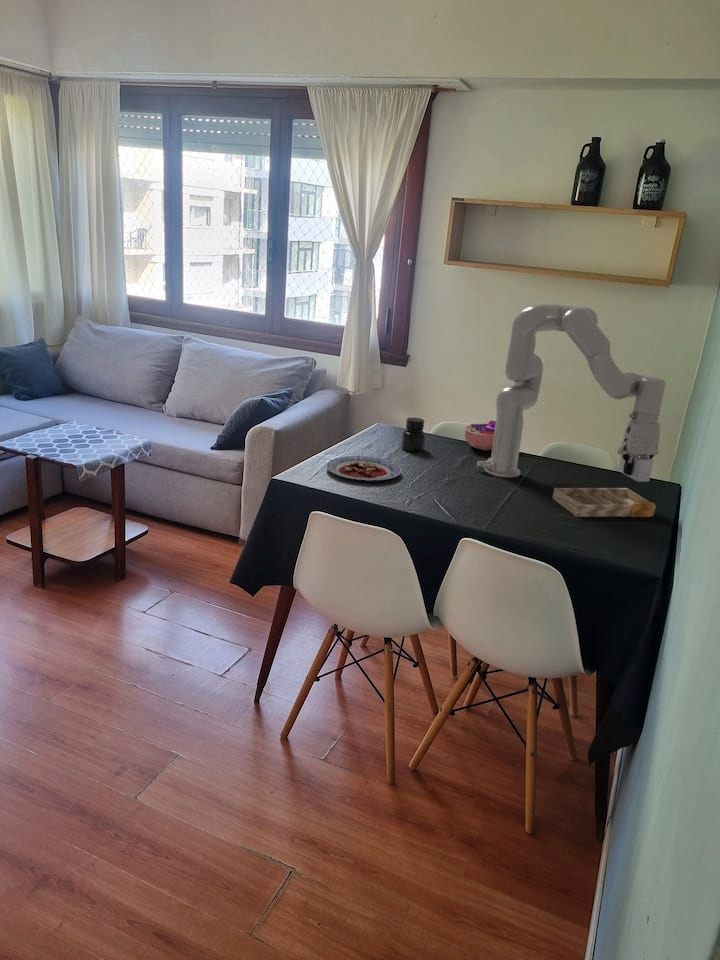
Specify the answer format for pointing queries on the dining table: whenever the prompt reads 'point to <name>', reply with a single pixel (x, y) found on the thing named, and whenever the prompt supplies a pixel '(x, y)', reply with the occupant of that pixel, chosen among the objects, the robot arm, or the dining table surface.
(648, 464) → the grey block
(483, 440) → the cell model
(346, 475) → the ceramic plate
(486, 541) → the dining table surface
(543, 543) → the dining table surface
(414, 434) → the ink bottle
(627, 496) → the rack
